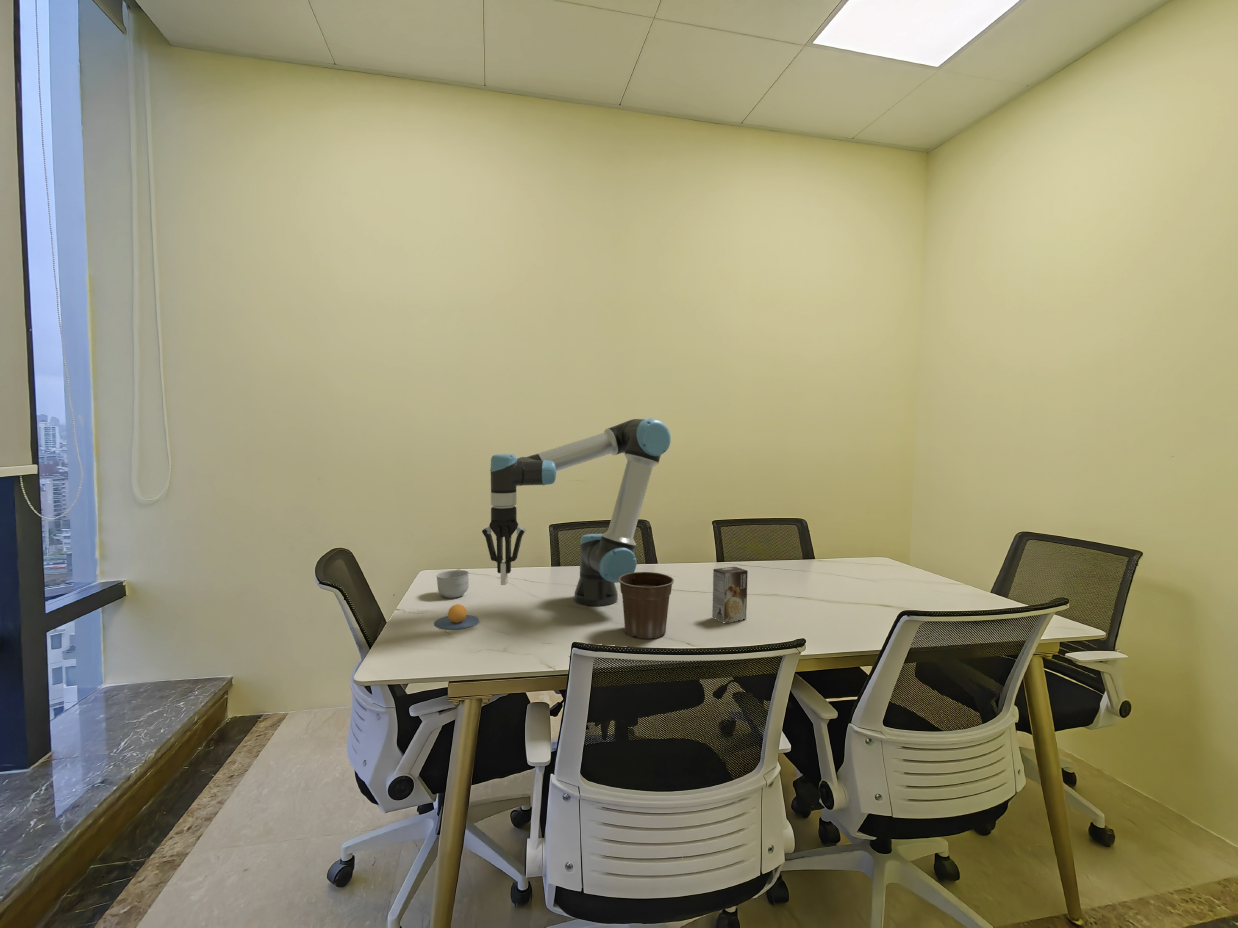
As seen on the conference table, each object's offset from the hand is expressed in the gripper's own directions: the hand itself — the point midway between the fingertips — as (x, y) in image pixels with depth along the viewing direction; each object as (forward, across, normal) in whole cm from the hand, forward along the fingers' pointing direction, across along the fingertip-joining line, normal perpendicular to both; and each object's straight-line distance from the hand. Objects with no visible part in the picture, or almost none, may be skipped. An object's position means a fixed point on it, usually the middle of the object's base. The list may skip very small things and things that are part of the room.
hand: (504, 583), depth 174 cm
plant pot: (+13, -42, +2) cm, 44 cm away
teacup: (+13, +24, -28) cm, 39 cm away
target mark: (+12, +14, 0) cm, 19 cm away
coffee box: (+14, -69, -13) cm, 72 cm away
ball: (+9, +14, 0) cm, 17 cm away
